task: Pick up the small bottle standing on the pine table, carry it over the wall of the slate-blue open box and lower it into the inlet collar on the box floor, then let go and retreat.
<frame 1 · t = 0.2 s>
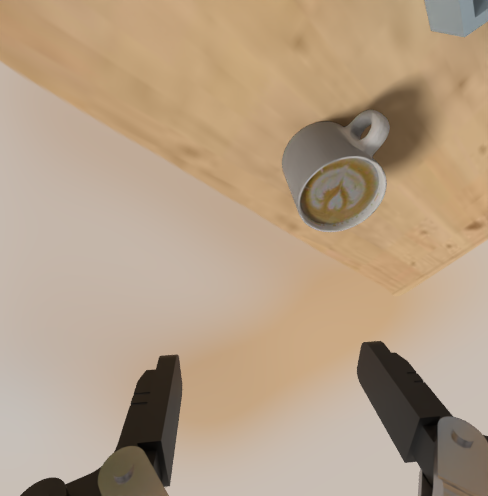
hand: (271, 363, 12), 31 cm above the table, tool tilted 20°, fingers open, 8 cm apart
coffee mug: (327, 148, 38), on the table
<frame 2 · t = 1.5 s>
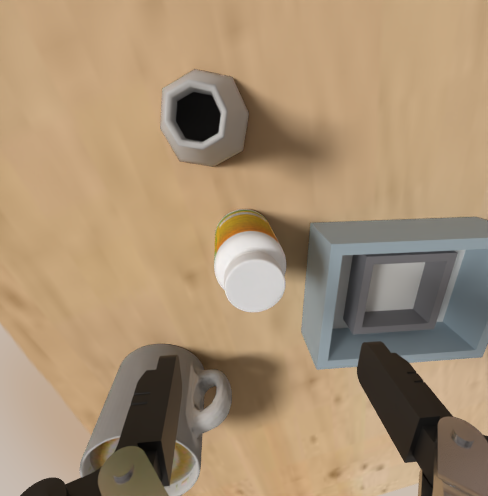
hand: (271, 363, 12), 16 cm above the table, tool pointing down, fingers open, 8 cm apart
supplement bottle: (243, 234, 27), on the table
coffee mug: (177, 372, 33), on the table
flask: (205, 121, 23), on the table
walled box: (383, 277, 30), on the table
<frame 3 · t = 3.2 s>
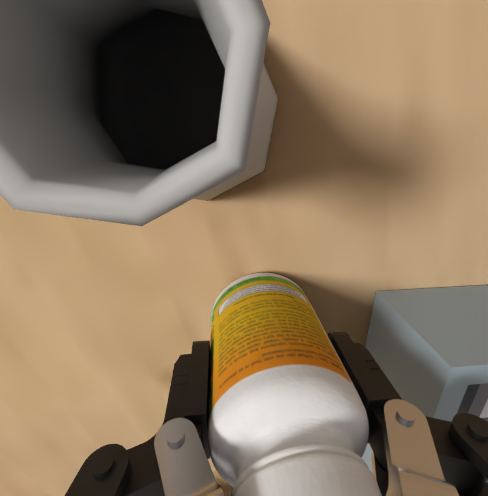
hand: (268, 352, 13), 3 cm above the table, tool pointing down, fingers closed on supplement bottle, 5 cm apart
supplement bottle: (259, 310, 16), on the table, touching gripper
flask: (190, 113, 12), on the table
walled box: (481, 368, 19), on the table
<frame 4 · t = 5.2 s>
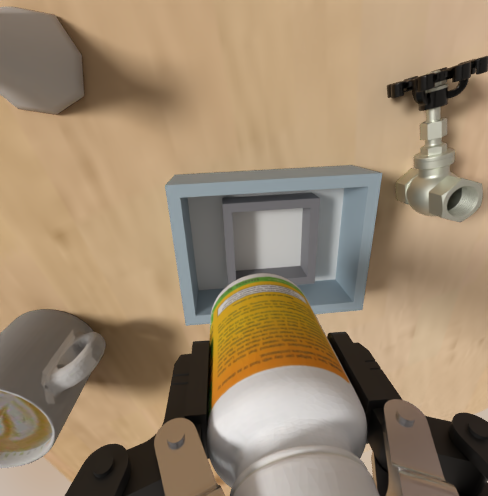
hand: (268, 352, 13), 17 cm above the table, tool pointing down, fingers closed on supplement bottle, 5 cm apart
supplement bottle: (258, 311, 16), point 14 cm above the table, touching gripper
valve: (408, 147, 28), on the table
coffee mug: (69, 340, 33), on the table
flask: (39, 65, 22), on the table
walled box: (266, 233, 29), on the table
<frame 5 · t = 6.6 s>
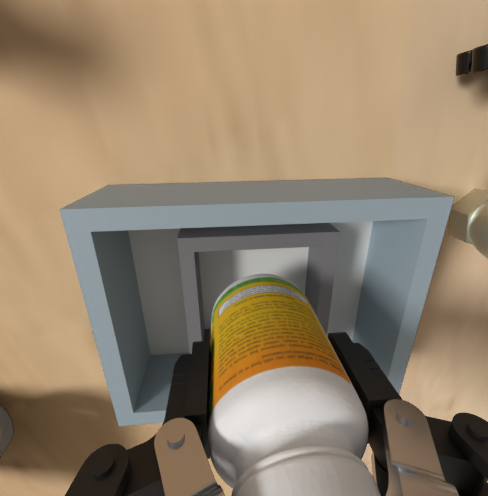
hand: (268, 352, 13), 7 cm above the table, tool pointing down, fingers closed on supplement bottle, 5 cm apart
supplement bottle: (259, 311, 16), point 4 cm above the table, touching gripper
valve: (473, 157, 18), on the table
walled box: (252, 275, 20), on the table
when the fingers open (5 cm above the table, at t = 7.4 s): supplement bottle stays where it is, resting on walled box.
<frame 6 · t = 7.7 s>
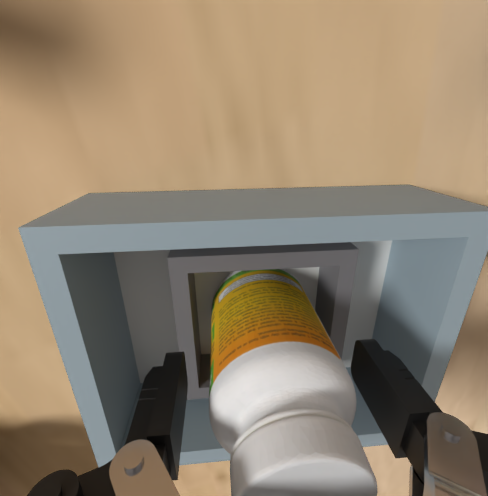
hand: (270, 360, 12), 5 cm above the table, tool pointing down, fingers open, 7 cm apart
supplement bottle: (257, 300, 17), point 1 cm above the table, touching walled box
walled box: (255, 294, 17), on the table
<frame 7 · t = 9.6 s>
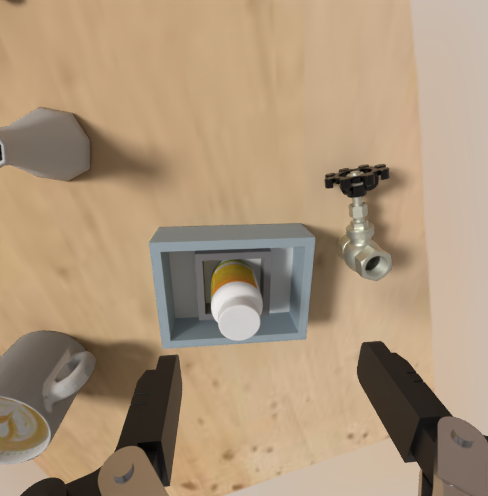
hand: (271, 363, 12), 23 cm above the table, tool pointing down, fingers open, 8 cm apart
supplement bottle: (232, 276, 35), point 1 cm above the table, touching walled box
valve: (346, 216, 35), on the table
coffee mug: (64, 357, 38), on the table
flask: (56, 145, 29), on the table
walled box: (232, 274, 36), on the table
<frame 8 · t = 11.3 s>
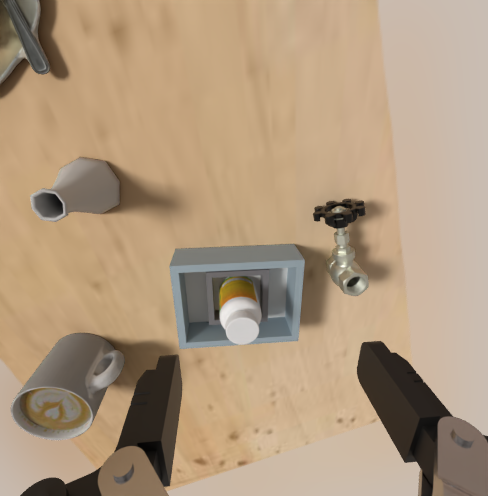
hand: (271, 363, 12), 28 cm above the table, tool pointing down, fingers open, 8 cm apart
supplement bottle: (237, 288, 42), point 1 cm above the table, touching walled box
valve: (333, 239, 42), on the table
coffee mug: (96, 354, 46), on the table
flask: (92, 186, 36), on the table
walled box: (236, 285, 43), on the table
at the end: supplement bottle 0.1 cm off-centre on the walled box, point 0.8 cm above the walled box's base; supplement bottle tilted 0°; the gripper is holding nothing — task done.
